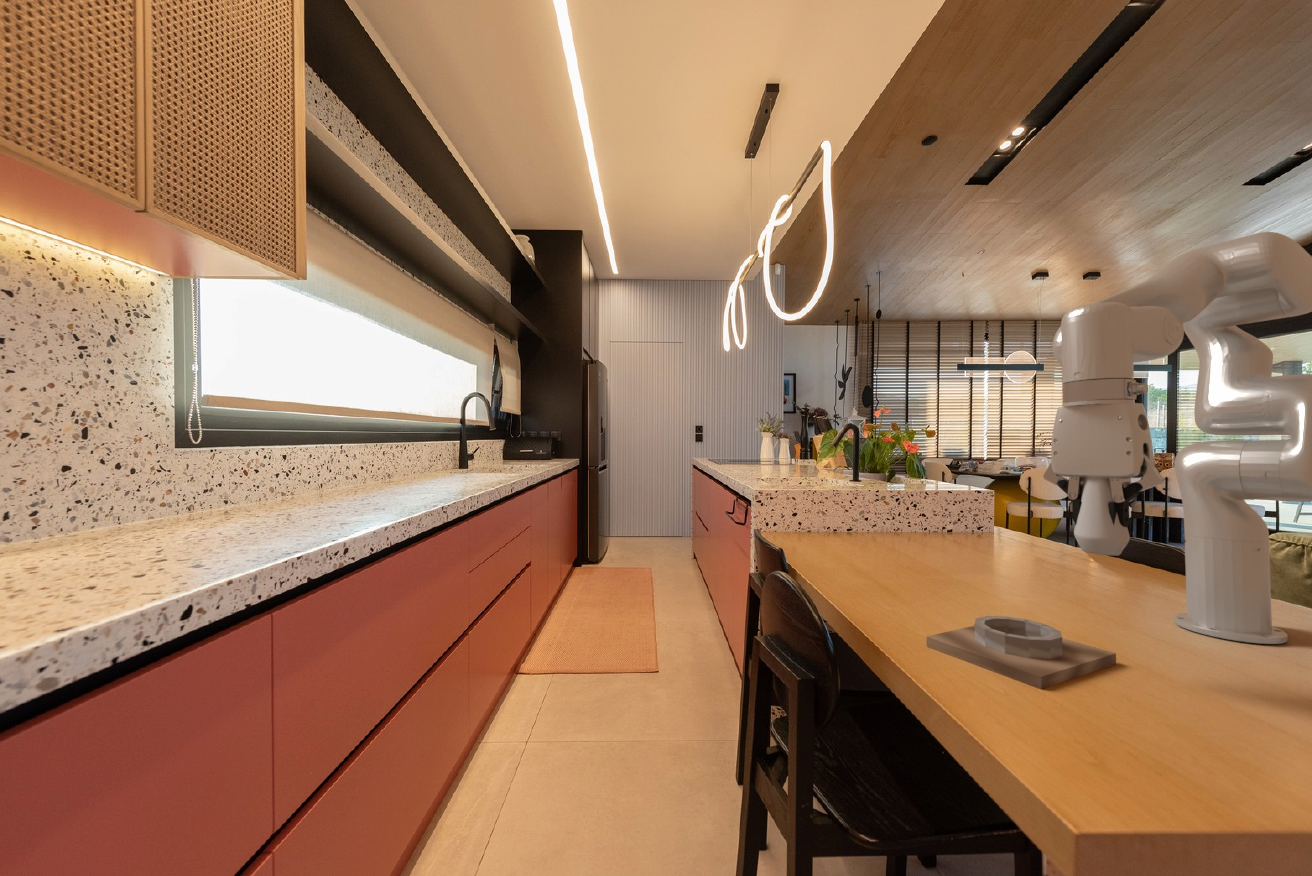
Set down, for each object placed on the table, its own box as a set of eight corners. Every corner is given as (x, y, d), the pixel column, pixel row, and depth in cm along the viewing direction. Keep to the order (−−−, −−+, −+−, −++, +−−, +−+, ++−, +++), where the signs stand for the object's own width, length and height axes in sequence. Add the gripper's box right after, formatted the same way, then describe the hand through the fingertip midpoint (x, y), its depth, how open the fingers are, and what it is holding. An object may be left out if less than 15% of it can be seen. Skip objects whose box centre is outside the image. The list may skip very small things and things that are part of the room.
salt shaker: (1141, 557, 67) (1139, 457, 68) (1091, 556, 68) (1089, 457, 69) (1110, 549, 73) (1108, 457, 74) (1064, 548, 74) (1062, 456, 74)
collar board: (999, 629, 87) (998, 605, 88) (1116, 664, 73) (1115, 635, 73) (926, 646, 80) (926, 619, 80) (1041, 689, 65) (1040, 656, 65)
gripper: (1190, 390, 66) (1194, 536, 65) (1045, 402, 80) (1047, 521, 80) (1163, 387, 62) (1167, 541, 62) (1017, 399, 77) (1019, 524, 77)
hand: (1100, 528), depth 71 cm, fingers closed on salt shaker, 3 cm apart
